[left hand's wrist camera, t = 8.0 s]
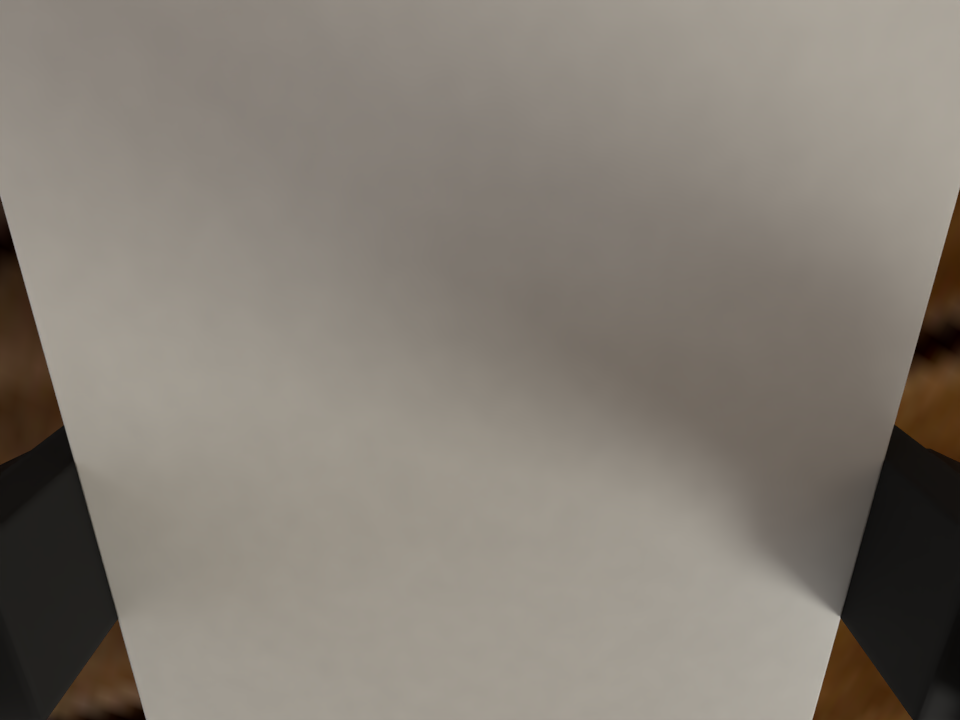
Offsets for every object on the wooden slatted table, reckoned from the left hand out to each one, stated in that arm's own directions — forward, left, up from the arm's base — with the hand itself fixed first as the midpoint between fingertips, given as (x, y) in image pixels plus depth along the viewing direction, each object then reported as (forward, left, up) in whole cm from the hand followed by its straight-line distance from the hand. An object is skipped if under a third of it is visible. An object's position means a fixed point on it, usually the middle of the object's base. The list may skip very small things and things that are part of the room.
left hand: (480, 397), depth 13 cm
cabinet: (+1, +5, -4) cm, 7 cm away
